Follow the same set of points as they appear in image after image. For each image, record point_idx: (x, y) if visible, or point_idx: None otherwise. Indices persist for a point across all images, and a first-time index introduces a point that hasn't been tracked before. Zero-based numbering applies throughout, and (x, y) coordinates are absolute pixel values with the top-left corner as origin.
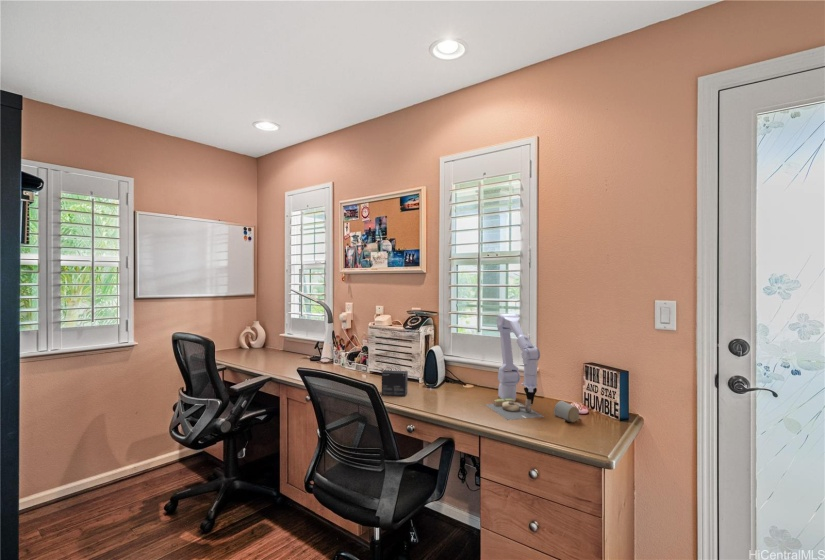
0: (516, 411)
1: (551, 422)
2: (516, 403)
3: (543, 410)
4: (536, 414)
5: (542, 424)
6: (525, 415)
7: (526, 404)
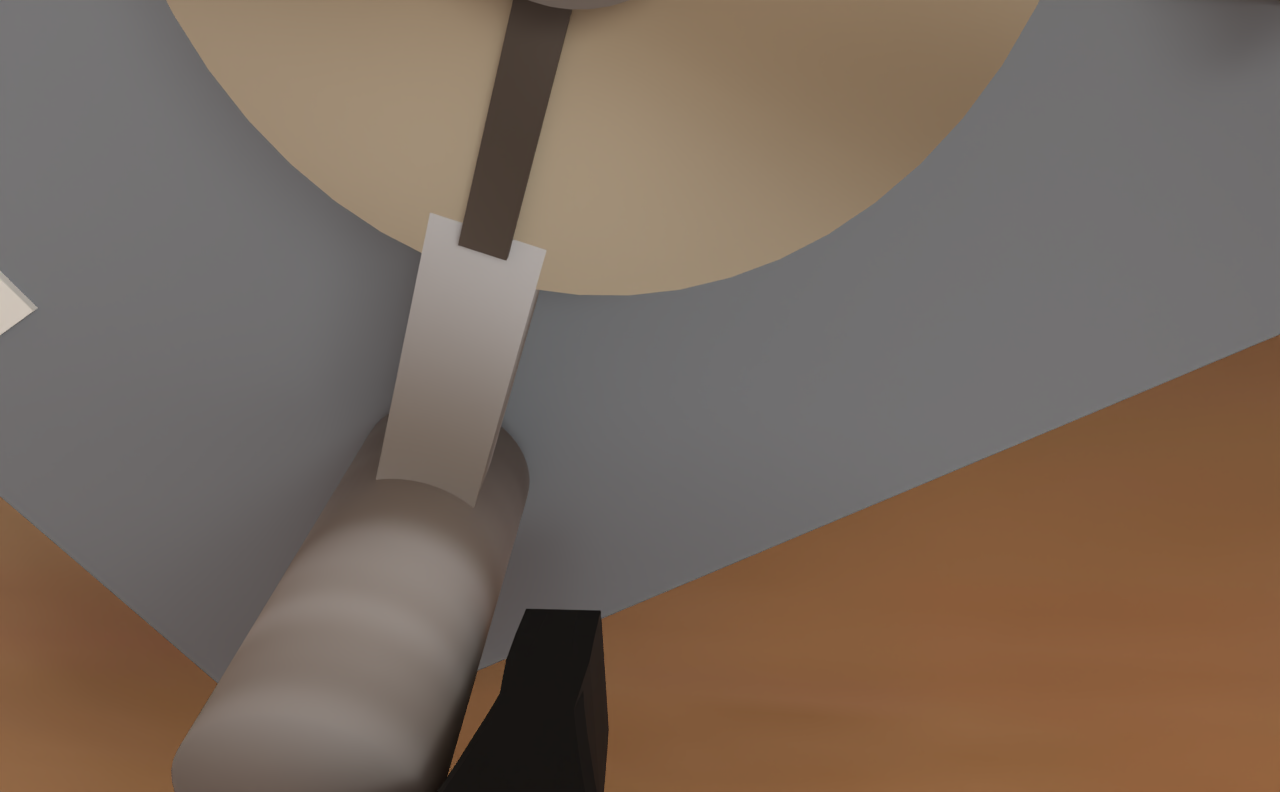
0: None
1: None
2: (775, 131)
3: (1024, 717)
4: None
5: (32, 636)
6: (108, 378)
7: (279, 585)
